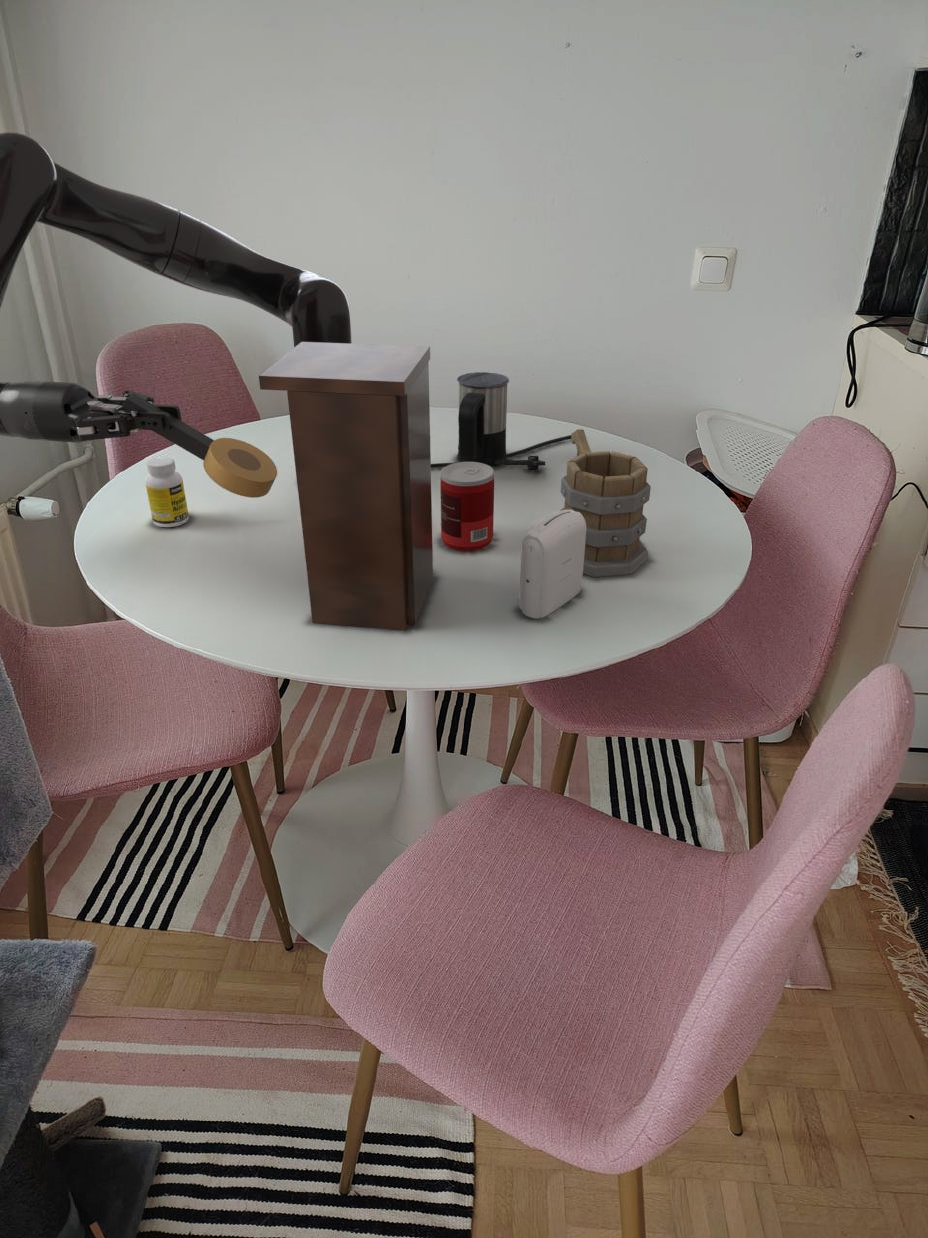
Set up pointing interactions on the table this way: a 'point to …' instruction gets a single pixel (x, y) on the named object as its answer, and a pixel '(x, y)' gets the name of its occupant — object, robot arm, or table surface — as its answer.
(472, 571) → the table surface
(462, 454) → the milk frother
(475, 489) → the canned food
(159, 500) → the supplement bottle
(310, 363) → the wooden cabinet
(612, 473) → the tankard
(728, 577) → the table surface
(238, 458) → the disc with black handle
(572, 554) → the photo printer
